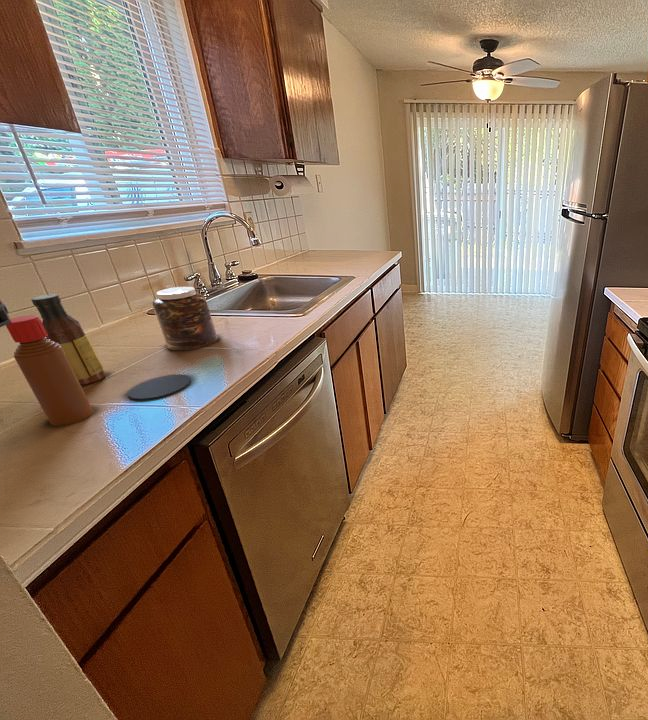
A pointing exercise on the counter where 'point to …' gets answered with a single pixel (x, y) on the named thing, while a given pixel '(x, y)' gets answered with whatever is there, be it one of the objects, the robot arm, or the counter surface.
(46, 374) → the bottle
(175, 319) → the jar
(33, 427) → the counter surface
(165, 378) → the coaster
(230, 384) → the counter surface
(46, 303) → the sauce bottle
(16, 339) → the cap
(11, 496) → the counter surface
